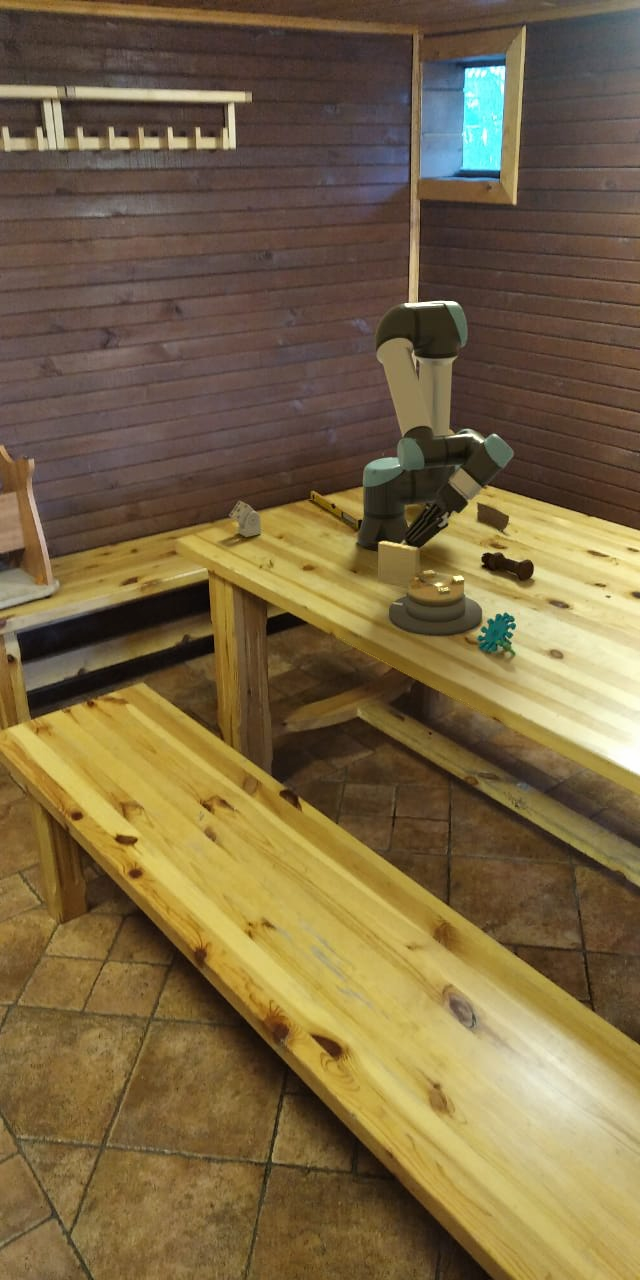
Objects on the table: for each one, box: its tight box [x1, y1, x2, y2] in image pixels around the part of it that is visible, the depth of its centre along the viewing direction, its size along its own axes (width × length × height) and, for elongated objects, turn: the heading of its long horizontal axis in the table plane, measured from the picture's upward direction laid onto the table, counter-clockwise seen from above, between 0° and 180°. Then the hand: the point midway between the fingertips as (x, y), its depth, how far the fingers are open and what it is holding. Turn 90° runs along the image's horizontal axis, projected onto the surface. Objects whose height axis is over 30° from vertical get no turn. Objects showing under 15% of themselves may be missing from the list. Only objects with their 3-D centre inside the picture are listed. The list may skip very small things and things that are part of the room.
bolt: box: [480, 551, 535, 582], centre depth 256 cm, size 6×5×15 cm
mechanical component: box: [228, 500, 262, 538], centre depth 286 cm, size 5×8×10 cm
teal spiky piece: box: [476, 612, 517, 656], centre depth 216 cm, size 11×6×10 cm
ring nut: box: [377, 541, 465, 607], centre depth 230 cm, size 22×13×11 cm, turn 57°
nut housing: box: [388, 592, 483, 637], centre depth 232 cm, size 22×22×5 cm
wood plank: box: [476, 502, 510, 533], centre depth 289 cm, size 15×2×5 cm, turn 26°
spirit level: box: [309, 490, 363, 529], centre depth 303 cm, size 33×1×3 cm, turn 26°
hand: (390, 563), depth 237 cm, fingers closed
